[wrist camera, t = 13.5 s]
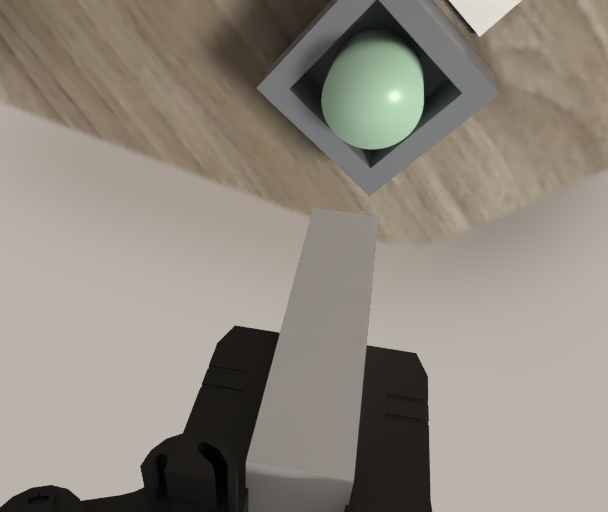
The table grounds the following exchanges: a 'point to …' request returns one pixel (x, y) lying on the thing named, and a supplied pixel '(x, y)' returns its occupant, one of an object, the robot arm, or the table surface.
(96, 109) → the table surface
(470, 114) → the button housing
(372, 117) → the button
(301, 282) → the robot arm
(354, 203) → the table surface
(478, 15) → the paper sheet
